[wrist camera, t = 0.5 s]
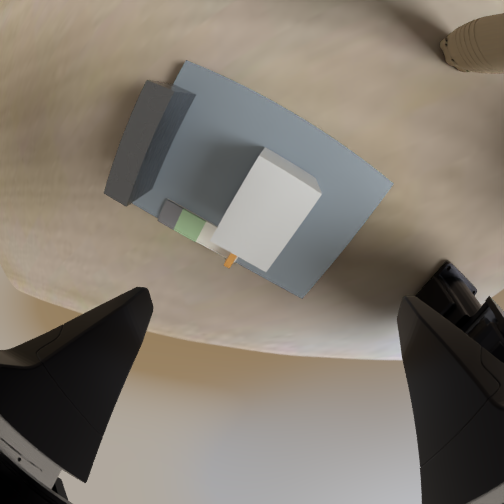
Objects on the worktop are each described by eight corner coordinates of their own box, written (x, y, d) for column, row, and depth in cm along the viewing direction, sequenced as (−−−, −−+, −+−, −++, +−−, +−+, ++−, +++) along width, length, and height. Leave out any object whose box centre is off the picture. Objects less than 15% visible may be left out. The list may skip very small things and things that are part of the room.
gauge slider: (315, 178, 18) (321, 194, 15) (251, 271, 22) (243, 302, 19) (265, 147, 18) (259, 155, 14) (207, 246, 22) (191, 273, 18)
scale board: (388, 179, 19) (395, 185, 17) (301, 290, 24) (302, 301, 23) (191, 62, 16) (184, 59, 15) (131, 194, 22) (122, 200, 21)
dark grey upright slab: (196, 94, 17) (174, 91, 13) (152, 189, 20) (126, 206, 17) (173, 84, 16) (146, 79, 13) (132, 178, 20) (103, 193, 17)
